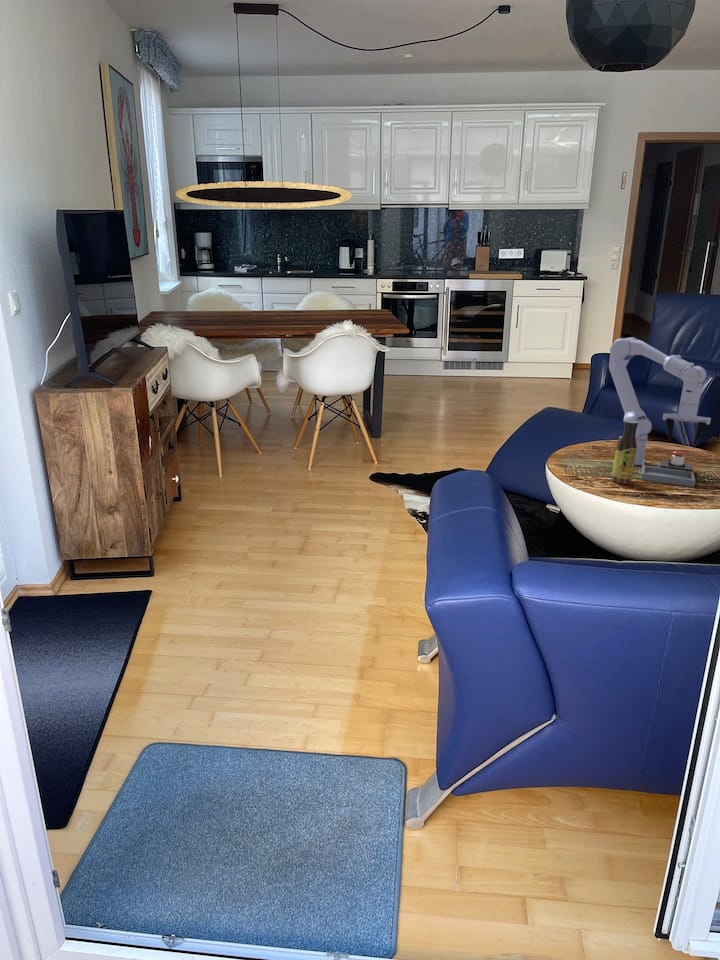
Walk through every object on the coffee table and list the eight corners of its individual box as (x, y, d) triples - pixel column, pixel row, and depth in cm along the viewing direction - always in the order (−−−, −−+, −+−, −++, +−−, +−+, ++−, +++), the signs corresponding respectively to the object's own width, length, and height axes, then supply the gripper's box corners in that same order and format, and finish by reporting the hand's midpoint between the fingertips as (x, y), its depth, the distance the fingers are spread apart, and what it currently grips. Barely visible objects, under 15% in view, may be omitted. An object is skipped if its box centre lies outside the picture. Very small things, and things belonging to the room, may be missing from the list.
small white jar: (669, 472, 246) (672, 452, 244) (668, 469, 250) (672, 450, 248) (681, 474, 245) (685, 454, 243) (681, 471, 248) (685, 451, 246)
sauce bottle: (621, 485, 229) (630, 424, 223) (606, 480, 234) (615, 420, 228) (635, 483, 232) (645, 423, 226) (620, 478, 237) (630, 418, 231)
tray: (640, 479, 236) (641, 473, 235) (641, 471, 246) (642, 465, 245) (694, 487, 231) (695, 480, 230) (692, 478, 241) (693, 471, 240)
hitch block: (659, 472, 245) (661, 465, 245) (659, 467, 252) (660, 460, 252) (691, 477, 242) (693, 469, 241) (690, 471, 249) (691, 464, 248)
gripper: (666, 402, 239) (659, 442, 243) (714, 407, 234) (706, 448, 238) (665, 399, 245) (658, 438, 249) (712, 403, 241) (704, 443, 245)
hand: (682, 442), depth 244 cm, fingers open, 7 cm apart
